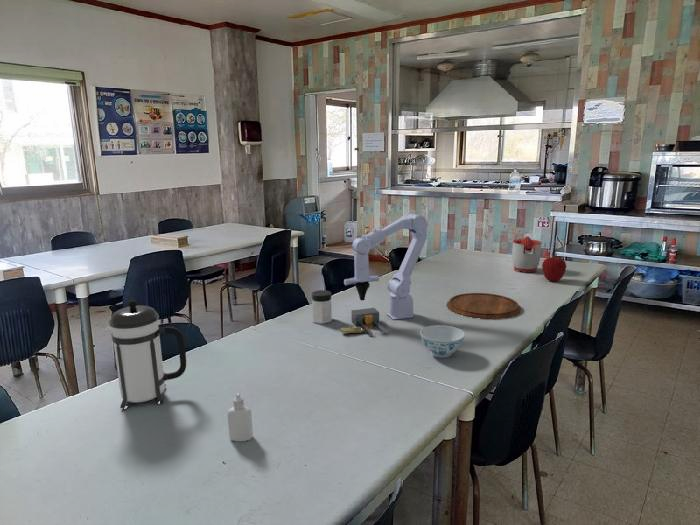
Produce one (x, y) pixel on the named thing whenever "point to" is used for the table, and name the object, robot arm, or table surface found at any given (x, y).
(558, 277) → the apple
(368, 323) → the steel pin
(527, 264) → the citrus juicer
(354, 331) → the keeper tab
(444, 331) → the chinaware
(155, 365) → the coffee press
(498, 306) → the cutting board
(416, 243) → the robot arm
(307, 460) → the table surface
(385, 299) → the table surface
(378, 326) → the hitch block
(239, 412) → the eye dropper bottle
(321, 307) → the jar
